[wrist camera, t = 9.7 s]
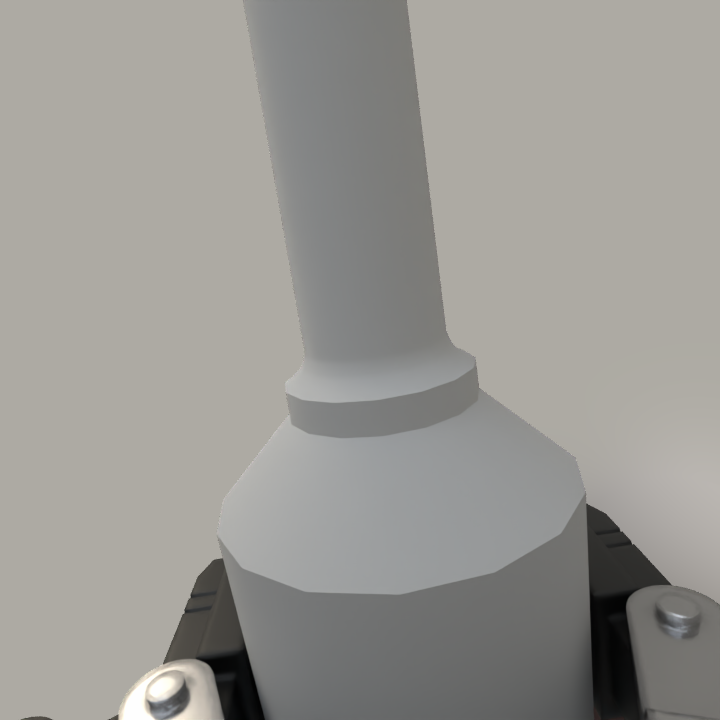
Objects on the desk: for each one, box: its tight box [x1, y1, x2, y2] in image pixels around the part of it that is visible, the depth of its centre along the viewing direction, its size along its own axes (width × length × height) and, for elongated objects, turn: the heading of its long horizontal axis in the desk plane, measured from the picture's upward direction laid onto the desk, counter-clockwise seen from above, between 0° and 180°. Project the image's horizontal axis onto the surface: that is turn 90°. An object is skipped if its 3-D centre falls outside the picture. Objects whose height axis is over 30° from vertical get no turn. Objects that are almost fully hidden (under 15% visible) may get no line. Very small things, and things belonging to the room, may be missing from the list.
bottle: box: [217, 0, 594, 720], centre depth 9 cm, size 5×5×25 cm
